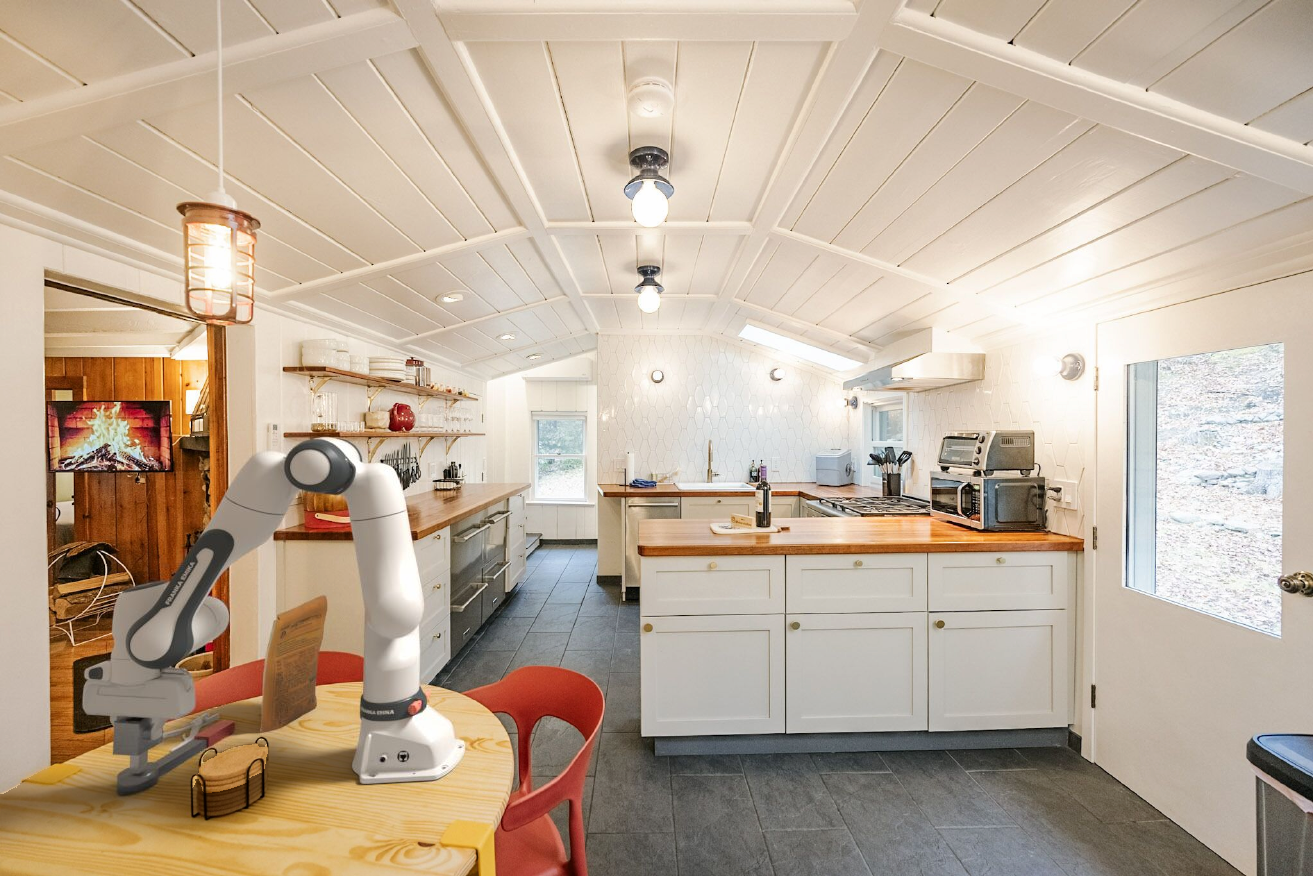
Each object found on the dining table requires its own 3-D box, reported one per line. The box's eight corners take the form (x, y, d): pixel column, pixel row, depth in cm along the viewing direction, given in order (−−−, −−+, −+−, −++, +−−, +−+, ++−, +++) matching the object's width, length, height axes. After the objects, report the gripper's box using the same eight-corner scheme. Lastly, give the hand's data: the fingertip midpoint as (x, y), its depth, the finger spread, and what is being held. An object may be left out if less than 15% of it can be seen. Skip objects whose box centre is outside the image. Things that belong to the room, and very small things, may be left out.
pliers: (132, 743, 121) (195, 711, 136) (131, 750, 121) (195, 717, 136) (173, 746, 120) (232, 713, 135) (173, 754, 120) (232, 720, 135)
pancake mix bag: (334, 701, 145) (337, 594, 146) (271, 738, 127) (275, 615, 127) (312, 698, 147) (315, 592, 147) (246, 735, 128) (250, 613, 128)
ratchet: (239, 732, 129) (241, 697, 129) (136, 796, 105) (138, 753, 105) (215, 730, 129) (216, 696, 130) (107, 794, 106) (108, 752, 106)
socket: (162, 742, 111) (163, 711, 111) (137, 756, 106) (138, 724, 106) (138, 740, 111) (140, 710, 111) (112, 754, 106) (114, 722, 106)
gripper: (206, 662, 111) (203, 732, 111) (110, 657, 112) (107, 726, 112) (176, 675, 105) (173, 749, 105) (76, 670, 106) (72, 743, 106)
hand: (138, 737), depth 108 cm, fingers closed on socket, 5 cm apart
